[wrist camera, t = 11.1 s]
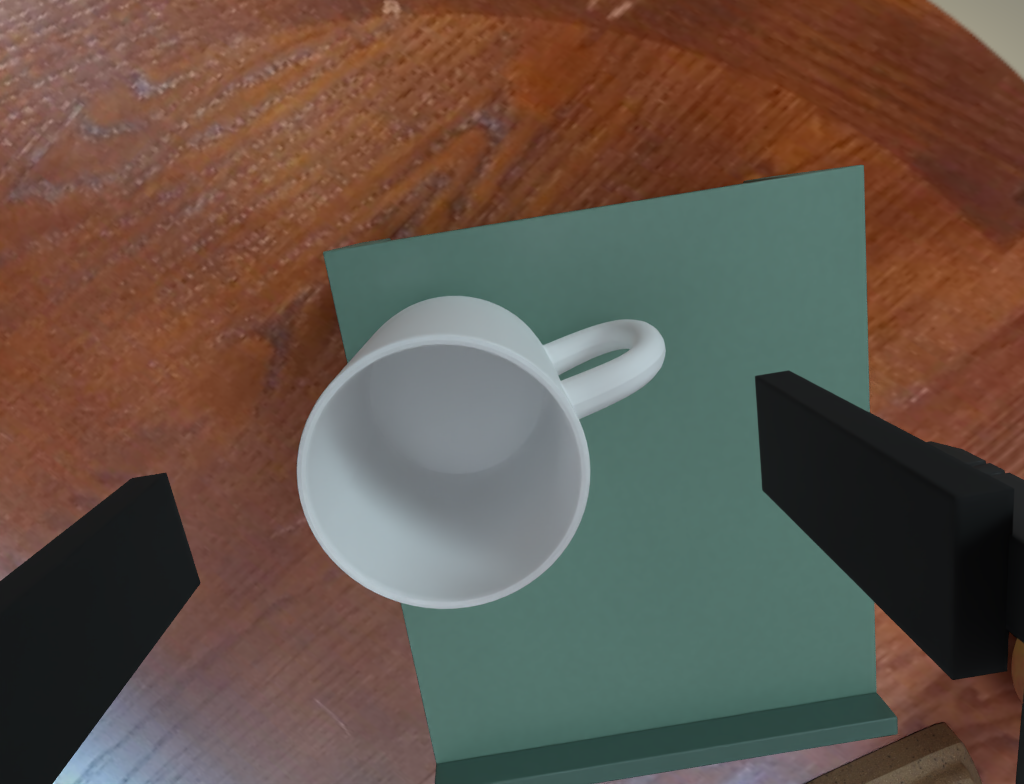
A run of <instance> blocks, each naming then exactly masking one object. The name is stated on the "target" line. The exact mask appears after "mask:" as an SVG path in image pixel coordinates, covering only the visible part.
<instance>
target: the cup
mask: <svg viewBox="0 0 1024 784" xmlns="http://www.w3.org/2000/svg"><path fill="white" fill-rule="evenodd" d="M620 349H630V350H629V351H627V352H626V353H624V354H623V355H621V356H619V357H617V358H615V359H613V360H611V361H609V362H606V363H604V364H602V365H599V366H597V367H594V368H592V369H590V370H587V371H584V372H582V373H579V374H577V375H574V376H572V377H569V378H567V379H564V380H562V381H561V380H560V378H559V375H560V374H562V373H564V372H566V371H568V370H570V369H572V368H574V367H576V366H578V365H580V364H582V363H584V362H586V361H588V360H590V359H592V358H595V357H597V356H600V355H602V354H605V353H608V352H611V351H615V350H620ZM665 352H666V349H665V343H664V339H663V337H662V336H661V334H660V333H659V331H658V330H657V329H656V328H655V327H653V326H652V325H650V324H648V323H646V322H644V321H639V320H631V319H622V320H615V321H609V322H605V323H601V324H598V325H595V326H591V327H588V328H586V329H583V330H580V331H577V332H575V333H572V334H569V335H567V336H564V337H562V338H560V339H557V340H555V341H552V342H550V343H547V344H545V345H542V343H541V342H540V340H539V339H538V338H537V336H536V335H535V334H534V333H533V331H532V330H531V329H530V328H529V327H528V326H527V325H526V324H525V323H524V322H523V321H522V320H521V319H519V318H518V317H517V316H516V315H514V314H513V313H511V312H510V311H508V310H506V309H504V308H503V307H501V306H499V305H496V304H494V303H491V302H489V301H486V300H482V299H478V298H473V297H466V296H443V297H436V298H431V299H427V300H424V301H421V302H418V303H416V304H413V305H411V306H409V307H407V308H405V309H404V310H402V311H400V312H399V313H397V314H396V315H394V316H393V317H391V318H390V319H389V320H388V321H387V322H386V323H384V324H383V325H382V326H381V327H380V328H379V329H378V330H377V331H376V332H375V333H374V335H373V336H372V337H371V338H370V339H369V340H368V341H367V342H366V344H365V345H364V346H363V347H362V348H361V349H360V350H359V351H358V353H357V354H356V355H355V356H354V357H353V358H352V359H351V360H350V362H349V363H348V364H347V365H346V366H345V367H344V368H343V369H342V371H341V372H340V373H339V374H338V375H337V376H336V377H335V378H334V379H333V381H332V382H331V383H330V384H329V385H328V387H327V388H326V389H325V390H324V392H323V393H322V394H321V396H320V397H319V399H318V400H317V402H316V403H315V405H314V407H313V409H312V411H311V413H310V415H309V417H308V419H307V421H306V424H305V427H304V429H303V432H302V436H301V440H300V444H299V450H298V457H297V483H298V491H299V496H300V501H301V505H302V508H303V511H304V514H305V517H306V519H307V522H308V524H309V526H310V528H311V530H312V532H313V534H314V536H315V538H316V539H317V541H318V542H319V544H320V545H321V547H322V548H323V550H324V551H325V552H326V553H327V554H328V556H329V557H330V558H331V559H332V560H333V561H334V562H335V563H336V564H337V565H338V566H339V567H340V568H341V569H342V570H343V571H344V572H345V573H346V574H348V575H349V576H350V577H351V578H352V579H354V580H355V581H357V582H358V583H360V584H361V585H363V586H364V587H366V588H368V589H370V590H371V591H373V592H375V593H377V594H379V595H382V596H384V597H386V598H389V599H391V600H394V601H397V602H400V603H404V604H408V605H412V606H418V607H424V608H435V609H456V608H465V607H471V606H476V605H481V604H485V603H488V602H492V601H495V600H498V599H500V598H503V597H505V596H508V595H510V594H512V593H514V592H516V591H518V590H519V589H521V588H523V587H524V586H526V585H528V584H529V583H531V582H532V581H533V580H535V579H536V578H537V577H539V576H540V575H541V574H542V573H544V572H545V571H546V570H547V569H548V568H549V567H550V566H551V565H552V564H553V563H554V562H555V561H556V560H557V559H558V558H559V556H560V555H561V554H562V553H563V551H564V550H565V549H566V547H567V546H568V544H569V543H570V541H571V539H572V538H573V536H574V534H575V532H576V530H577V528H578V526H579V524H580V522H581V519H582V516H583V514H584V511H585V507H586V503H587V499H588V494H589V487H590V457H589V451H588V446H587V441H586V438H585V434H584V431H583V428H582V426H581V423H580V421H579V419H581V418H583V417H586V416H588V415H590V414H593V413H595V412H597V411H599V410H601V409H603V408H606V407H608V406H610V405H612V404H614V403H616V402H618V401H620V400H622V399H624V398H626V397H628V396H629V395H631V394H633V393H634V392H636V391H638V390H639V389H641V388H642V387H643V386H645V385H646V384H647V383H648V382H649V381H650V380H651V379H652V378H653V377H654V376H655V375H656V374H657V372H658V371H659V370H660V368H661V367H662V365H663V362H664V358H665Z"/></svg>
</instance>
